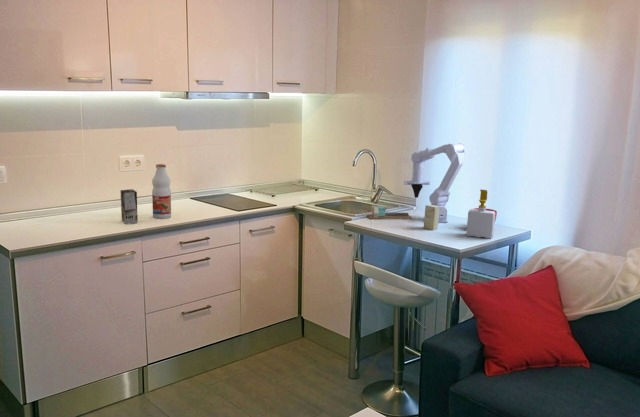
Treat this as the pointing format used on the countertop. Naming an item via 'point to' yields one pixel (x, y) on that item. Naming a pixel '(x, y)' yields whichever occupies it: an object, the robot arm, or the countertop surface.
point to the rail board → (387, 215)
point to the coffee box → (129, 206)
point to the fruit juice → (161, 193)
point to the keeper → (381, 210)
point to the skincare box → (431, 217)
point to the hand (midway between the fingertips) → (416, 197)
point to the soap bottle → (481, 219)
